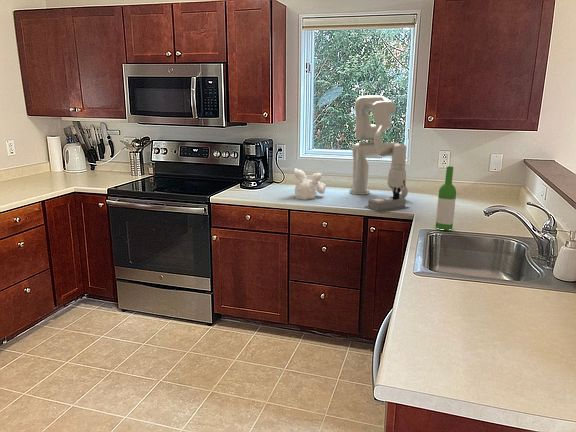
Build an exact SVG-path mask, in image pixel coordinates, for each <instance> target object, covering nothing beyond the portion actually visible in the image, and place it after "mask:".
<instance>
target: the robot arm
mask: <svg viewBox="0 0 576 432" xmlns="http://www.w3.org/2000/svg"><path fill="white" fill-rule="evenodd" d="M354 103H355V104H354V111H355V138H356V140H359V141H369V142H356V143H355V144H354V145H353V147H352V160H353V161H352V162H353V165H352V166H353V167H352V183H351V184H350V185H349V186H348V187H349V188H351V189H350V190H349V193H350V194H352V195H369V194H370V190H369V189H368V185H369V182H368V181H369V166H370V165H369V162H368V160H367V159H368V158H377V157H391V163H390V166H391V167H390V168H389V172H388V176H387V186H388V187H389V188H390V189H391V191H392V197H393V199H395V200H397V199H399V194H400V193H401V192H402V190H404V187H405V186H406V185H407V174H406V162H407V161H406V160H407V145H406V144H404V143H403V144H402V143H399V142H384V141H383V138H382V136H383V135H382V134H383V133H384V132H386V131H388V130H389V129H390V128H391V127H392V125H393V124H392V121H391V117H392V116H394V115H395V114H396V111H397V107H396V104H395V103H394V102H393V101H392V100H390V99H389V98H387V97H385V96H383V95H362V96H359V97H357V99H356V101H355V102H354ZM368 111H371V113H372V116H373V120H374V124H372V123H371V116H370V114H369V112H368Z"/></svg>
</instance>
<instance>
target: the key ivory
mask: <svg viewBox="0 0 576 432" xmlns="http://www.w3.org/2000/svg"><path fill="white" fill-rule="evenodd" d="M372 200H373V201H375V202H378V203H379V202H384V200H382V199H379V198H373V199H372Z"/></svg>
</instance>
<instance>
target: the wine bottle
mask: <svg viewBox="0 0 576 432" xmlns="http://www.w3.org/2000/svg"><path fill="white" fill-rule="evenodd" d="M445 172H446V173H445V179H444V180H445V181H444V184H442V185H441V186H440V188H439V189H438V199H437V205H436V206H437V208H436V217H435V229H436V228H439V229H444V230H449V229H453V227H454V225H453V224H454V217H455V207H456V198H457V197H456V196H457V188H456V187H455V186H454V184H453V177H454V176H453V175H454V166H452V165H451V166H450V165H449V166H446V170H445Z"/></svg>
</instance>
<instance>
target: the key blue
mask: <svg viewBox="0 0 576 432" xmlns="http://www.w3.org/2000/svg"><path fill="white" fill-rule="evenodd" d="M388 197H389V196H387V197H381V199H382V200H385V201H392V200H393V199H392V198H388Z"/></svg>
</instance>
